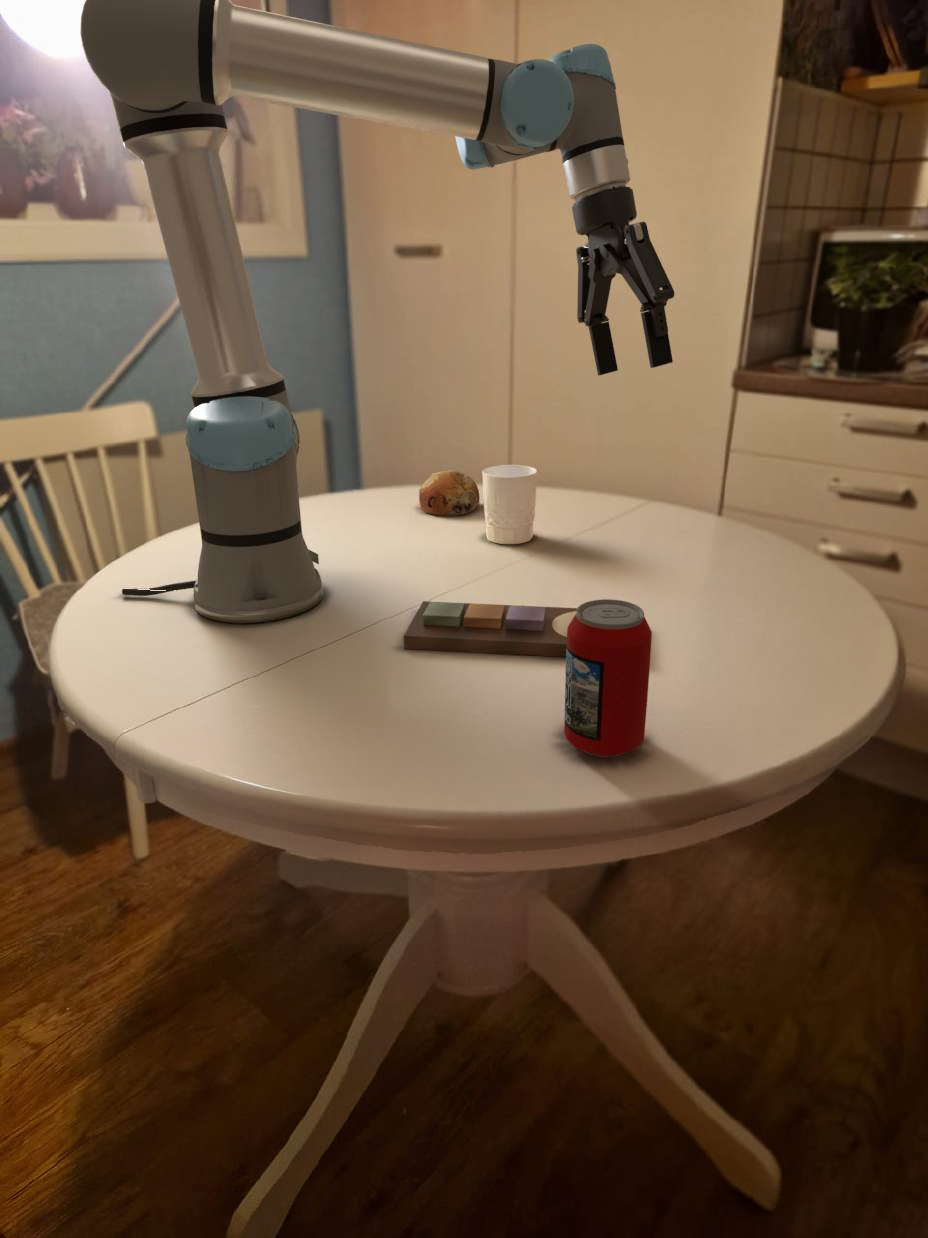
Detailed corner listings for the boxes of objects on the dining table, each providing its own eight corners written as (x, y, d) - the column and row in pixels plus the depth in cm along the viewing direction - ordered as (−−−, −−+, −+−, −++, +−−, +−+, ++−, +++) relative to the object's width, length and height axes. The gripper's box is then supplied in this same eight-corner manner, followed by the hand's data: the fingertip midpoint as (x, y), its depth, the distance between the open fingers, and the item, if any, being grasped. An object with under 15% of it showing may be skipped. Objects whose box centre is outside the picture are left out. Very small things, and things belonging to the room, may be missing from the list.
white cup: (536, 530, 130) (538, 464, 126) (535, 546, 123) (536, 477, 119) (484, 529, 131) (484, 464, 127) (480, 545, 124) (479, 476, 120)
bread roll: (478, 522, 147) (476, 475, 147) (482, 512, 137) (480, 462, 137) (420, 524, 146) (418, 477, 147) (420, 514, 136) (418, 464, 137)
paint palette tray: (403, 648, 92) (402, 625, 91) (423, 612, 101) (422, 591, 100) (633, 661, 88) (635, 636, 87) (632, 622, 97) (633, 600, 96)
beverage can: (557, 724, 76) (560, 597, 72) (632, 720, 77) (641, 594, 72) (571, 765, 70) (576, 630, 65) (653, 761, 71) (663, 626, 66)
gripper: (684, 157, 95) (715, 353, 101) (581, 212, 118) (611, 369, 124) (625, 169, 93) (660, 369, 99) (532, 223, 116) (565, 382, 122)
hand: (633, 369), depth 111 cm, fingers open, 13 cm apart
